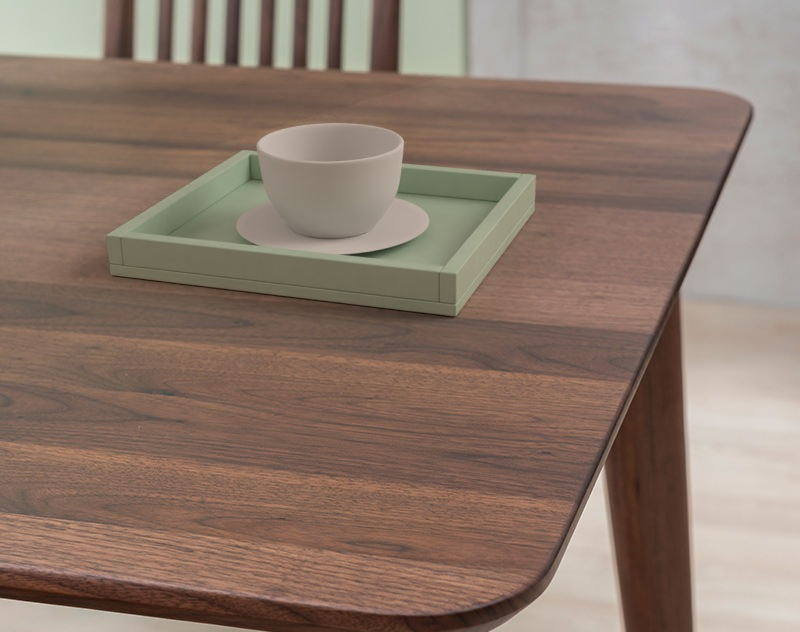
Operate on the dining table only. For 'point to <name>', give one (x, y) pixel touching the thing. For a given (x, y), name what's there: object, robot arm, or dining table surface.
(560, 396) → the dining table surface
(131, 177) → the dining table surface
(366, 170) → the teacup
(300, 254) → the tray
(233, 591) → the dining table surface
